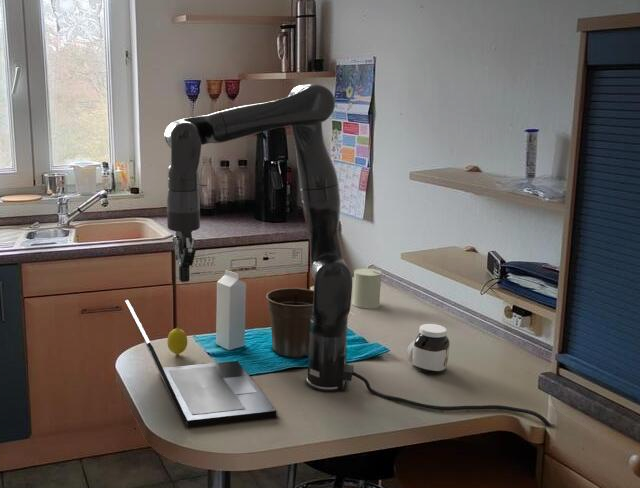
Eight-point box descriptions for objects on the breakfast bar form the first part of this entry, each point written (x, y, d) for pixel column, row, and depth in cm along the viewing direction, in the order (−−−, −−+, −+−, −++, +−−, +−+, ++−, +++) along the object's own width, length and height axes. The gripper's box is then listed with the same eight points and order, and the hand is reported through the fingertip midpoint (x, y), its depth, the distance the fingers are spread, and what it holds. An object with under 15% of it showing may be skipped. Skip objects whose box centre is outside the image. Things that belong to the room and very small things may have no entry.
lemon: (180, 360, 201) (180, 332, 200) (163, 356, 204) (163, 328, 202) (191, 353, 206) (191, 326, 204) (174, 349, 209) (174, 323, 207)
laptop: (237, 367, 197) (237, 360, 197) (276, 417, 169) (276, 410, 169) (160, 374, 192) (160, 367, 192) (187, 428, 164) (187, 420, 163)
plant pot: (260, 357, 204) (261, 302, 200) (268, 337, 219) (270, 285, 215) (319, 363, 200) (322, 307, 196) (324, 342, 215) (326, 290, 212)
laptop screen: (128, 299, 185) (125, 300, 185) (150, 341, 157) (146, 343, 157) (160, 367, 192) (157, 369, 192) (187, 420, 164) (184, 422, 163)
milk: (228, 350, 209) (230, 276, 204) (215, 344, 213) (216, 271, 208) (245, 345, 212) (246, 272, 207) (231, 339, 217) (233, 267, 212)
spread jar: (434, 379, 191) (438, 336, 188) (395, 367, 198) (398, 326, 196) (454, 365, 200) (458, 325, 197) (415, 354, 207) (418, 315, 204)
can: (376, 310, 244) (378, 275, 242) (349, 306, 248) (351, 272, 245) (382, 302, 253) (384, 268, 250) (355, 298, 256) (357, 265, 254)
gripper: (206, 213, 164) (207, 287, 168) (192, 202, 176) (192, 272, 180) (174, 215, 162) (175, 290, 166) (161, 204, 174) (162, 274, 178)
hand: (184, 280), depth 173 cm, fingers closed
